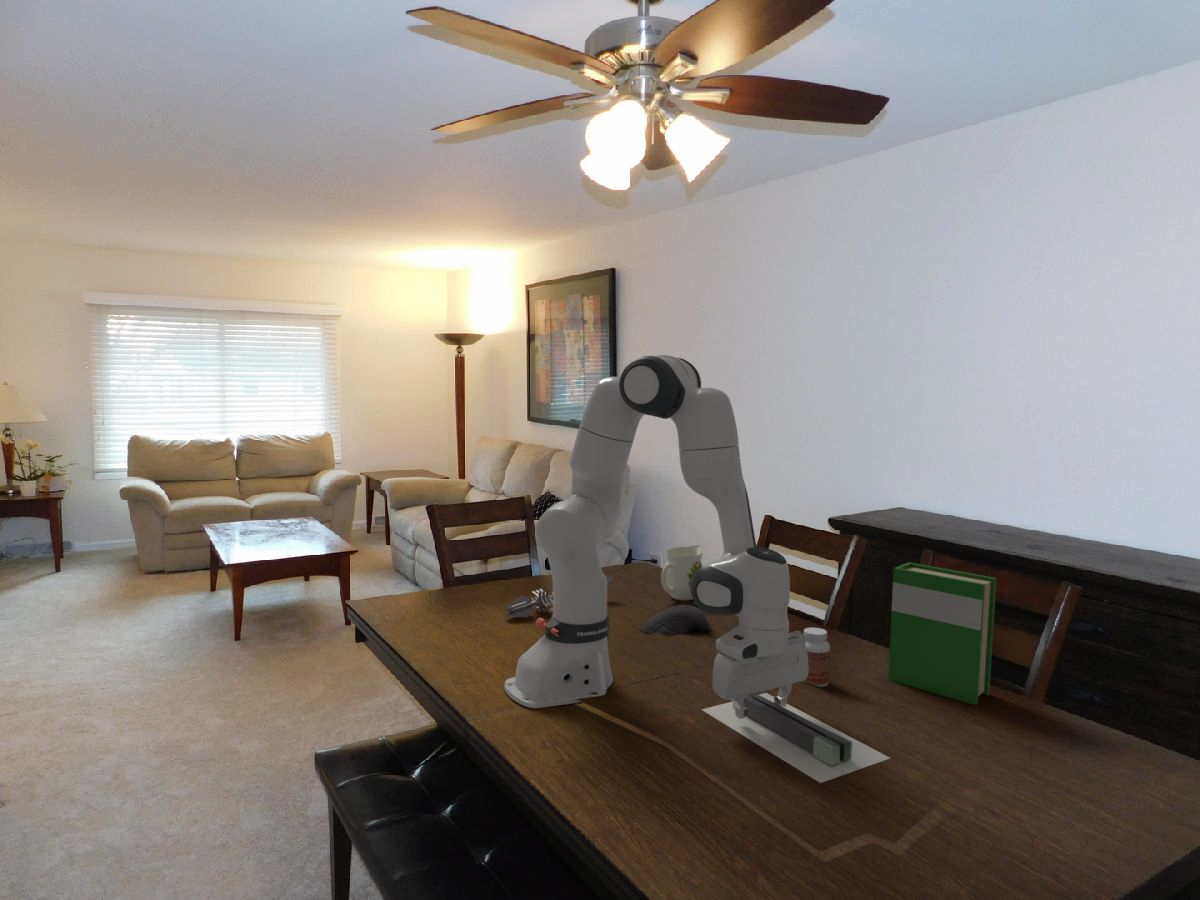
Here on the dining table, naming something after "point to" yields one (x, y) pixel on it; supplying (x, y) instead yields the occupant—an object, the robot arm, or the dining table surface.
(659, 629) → the seashell
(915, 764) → the dining table surface
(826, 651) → the pill bottle
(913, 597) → the hardback book
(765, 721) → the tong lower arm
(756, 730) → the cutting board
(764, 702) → the tong upper arm
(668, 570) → the pitcher
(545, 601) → the spaceship
